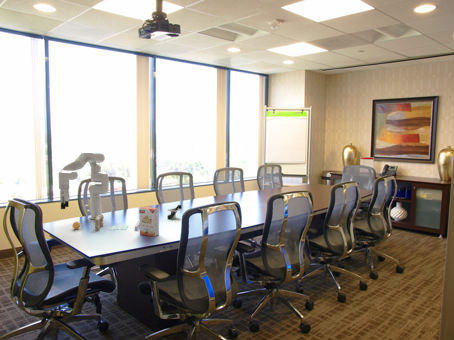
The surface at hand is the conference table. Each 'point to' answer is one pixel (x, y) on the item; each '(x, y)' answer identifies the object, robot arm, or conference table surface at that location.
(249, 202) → the conference table surface
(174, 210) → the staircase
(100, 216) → the bridge
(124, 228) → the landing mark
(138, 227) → the stopper
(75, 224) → the ball
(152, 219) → the cracker box
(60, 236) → the conference table surface
